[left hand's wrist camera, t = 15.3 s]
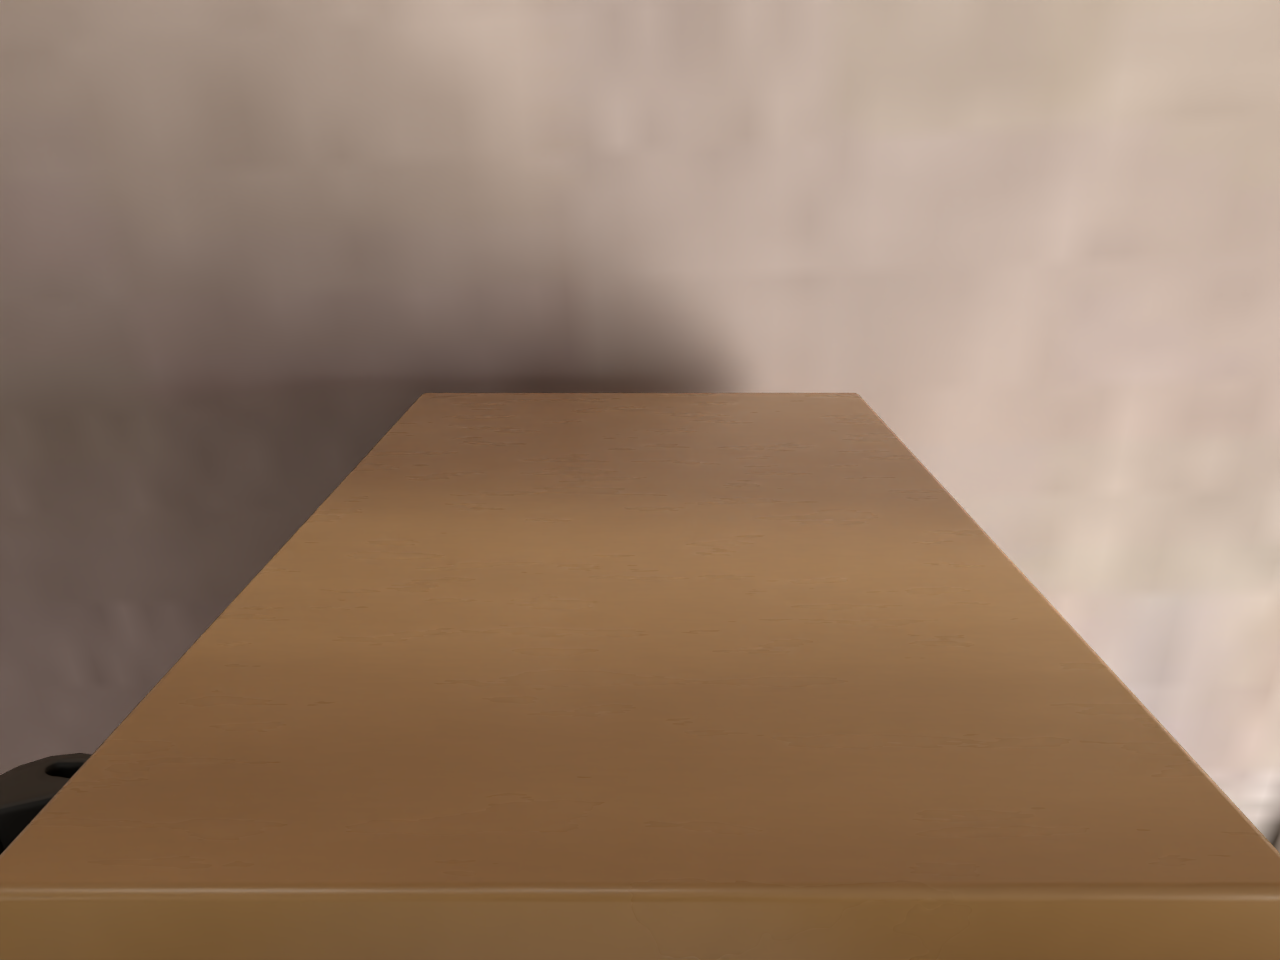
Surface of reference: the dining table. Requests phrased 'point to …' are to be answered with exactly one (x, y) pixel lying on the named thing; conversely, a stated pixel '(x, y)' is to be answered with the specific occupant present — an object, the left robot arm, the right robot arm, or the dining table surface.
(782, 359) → the dining table surface
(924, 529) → the box
